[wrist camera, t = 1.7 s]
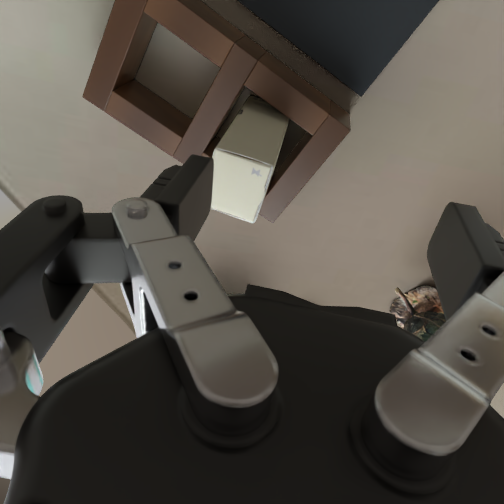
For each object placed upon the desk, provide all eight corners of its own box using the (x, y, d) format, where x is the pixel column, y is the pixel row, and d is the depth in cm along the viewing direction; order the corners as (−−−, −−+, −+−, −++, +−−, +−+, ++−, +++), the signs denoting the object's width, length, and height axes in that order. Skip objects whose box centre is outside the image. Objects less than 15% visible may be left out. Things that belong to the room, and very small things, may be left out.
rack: (106, 85, 39) (81, 96, 35) (151, -37, 32) (127, -38, 29) (278, 202, 42) (272, 223, 39) (349, 114, 36) (351, 130, 32)
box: (249, 93, 37) (213, 141, 26) (294, 108, 37) (276, 163, 26) (235, 145, 40) (198, 207, 29) (277, 159, 40) (254, 226, 29)
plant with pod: (443, 257, 43) (505, 430, 27) (480, 326, 47) (552, 510, 31) (372, 284, 46) (389, 449, 30) (412, 345, 51) (445, 518, 35)
